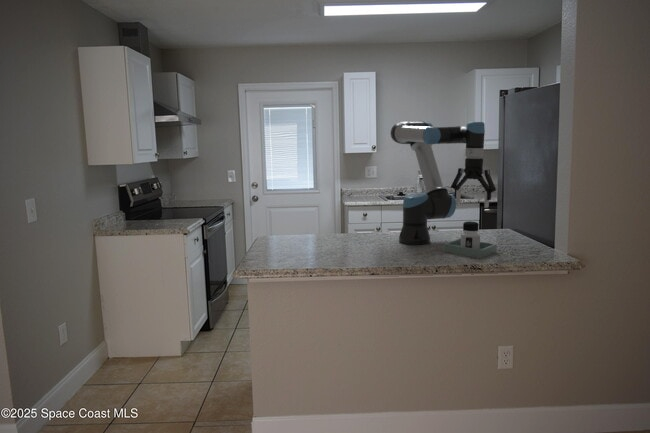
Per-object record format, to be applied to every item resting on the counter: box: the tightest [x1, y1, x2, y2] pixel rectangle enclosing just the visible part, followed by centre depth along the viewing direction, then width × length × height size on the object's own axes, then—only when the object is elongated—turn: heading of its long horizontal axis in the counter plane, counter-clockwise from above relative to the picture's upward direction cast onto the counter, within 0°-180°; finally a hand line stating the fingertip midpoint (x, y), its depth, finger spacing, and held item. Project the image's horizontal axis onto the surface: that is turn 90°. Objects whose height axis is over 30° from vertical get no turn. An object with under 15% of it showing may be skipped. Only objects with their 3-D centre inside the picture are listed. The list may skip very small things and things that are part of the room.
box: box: [443, 237, 498, 259], centre depth 224 cm, size 18×15×4 cm
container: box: [460, 220, 481, 249], centre depth 223 cm, size 8×8×13 cm
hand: (471, 205), depth 222 cm, fingers open, 13 cm apart
